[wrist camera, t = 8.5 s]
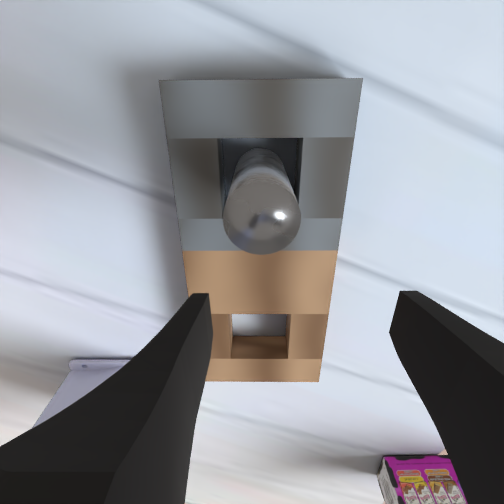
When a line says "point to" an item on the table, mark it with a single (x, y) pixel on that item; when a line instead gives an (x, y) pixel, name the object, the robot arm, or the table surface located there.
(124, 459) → the robot arm
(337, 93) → the dock board
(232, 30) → the table surface
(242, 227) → the pin
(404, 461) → the candy bar box
